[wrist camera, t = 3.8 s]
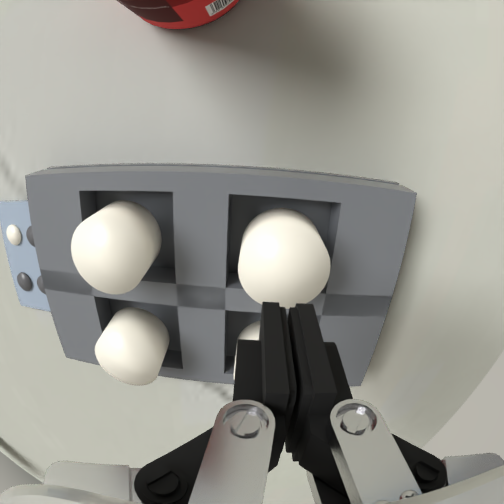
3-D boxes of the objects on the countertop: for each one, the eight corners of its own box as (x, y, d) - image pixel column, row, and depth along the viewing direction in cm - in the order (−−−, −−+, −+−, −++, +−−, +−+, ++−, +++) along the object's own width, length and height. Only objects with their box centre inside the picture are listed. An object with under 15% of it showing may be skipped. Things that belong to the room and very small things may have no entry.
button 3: (325, 211, 17) (337, 229, 14) (314, 282, 19) (322, 311, 16) (243, 205, 17) (240, 222, 14) (239, 278, 19) (236, 306, 16)
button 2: (166, 310, 20) (154, 339, 17) (172, 360, 21) (162, 390, 19) (106, 303, 20) (88, 329, 17) (117, 352, 21) (103, 379, 19)
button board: (396, 182, 19) (416, 193, 16) (352, 360, 25) (360, 385, 22) (-4, 172, 19) (-28, 181, 16) (29, 324, 25) (14, 342, 22)
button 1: (160, 201, 17) (141, 217, 14) (163, 272, 19) (148, 298, 16) (92, 199, 17) (65, 214, 14) (100, 266, 19) (78, 289, 16)
